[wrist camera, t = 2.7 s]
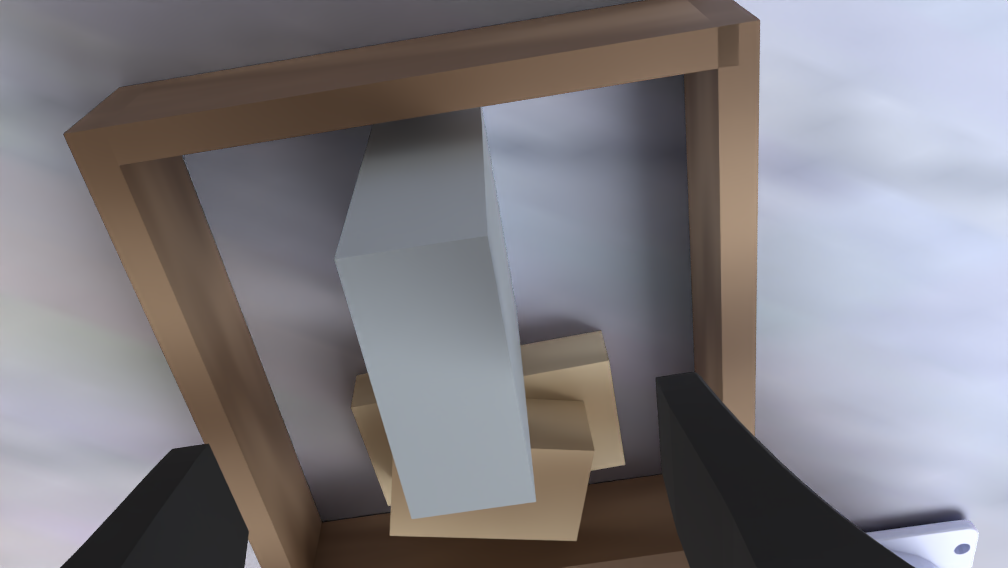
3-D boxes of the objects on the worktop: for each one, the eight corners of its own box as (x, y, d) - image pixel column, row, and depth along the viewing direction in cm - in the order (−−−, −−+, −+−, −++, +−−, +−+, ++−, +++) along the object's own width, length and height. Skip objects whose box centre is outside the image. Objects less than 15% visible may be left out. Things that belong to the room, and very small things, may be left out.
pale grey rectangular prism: (516, 310, 22) (536, 502, 16) (426, 323, 22) (411, 518, 16) (480, 98, 19) (487, 235, 13) (375, 114, 19) (334, 259, 13)
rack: (723, 484, 26) (753, 560, 23) (304, 543, 26) (287, 623, 24) (716, -12, 18) (760, 19, 15) (119, 87, 18) (63, 133, 16)
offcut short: (567, 487, 23) (576, 540, 22) (394, 481, 23) (389, 535, 21) (583, 400, 22) (594, 451, 20) (398, 392, 21) (392, 443, 20)
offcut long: (613, 418, 25) (625, 464, 23) (392, 458, 25) (387, 506, 24) (598, 318, 23) (609, 360, 21) (358, 362, 23) (350, 407, 22)
